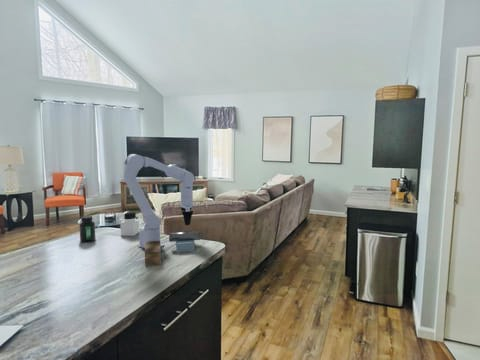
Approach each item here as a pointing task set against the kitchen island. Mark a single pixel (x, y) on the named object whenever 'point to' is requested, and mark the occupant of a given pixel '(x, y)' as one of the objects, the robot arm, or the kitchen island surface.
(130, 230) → the medicine bottle
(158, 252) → the beam
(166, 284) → the kitchen island surface
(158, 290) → the kitchen island surface
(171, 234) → the axle
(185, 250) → the v block
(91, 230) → the supplement bottle
